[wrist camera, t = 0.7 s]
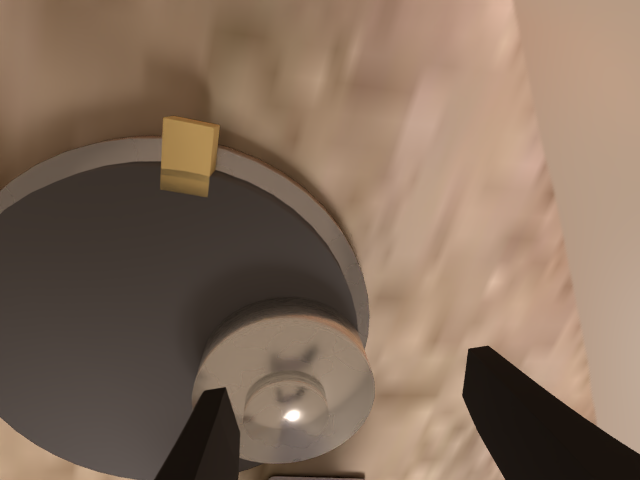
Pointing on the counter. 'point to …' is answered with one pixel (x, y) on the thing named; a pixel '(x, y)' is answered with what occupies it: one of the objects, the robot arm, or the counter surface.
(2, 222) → the turntable
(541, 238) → the counter surface
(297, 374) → the cover
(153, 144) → the base
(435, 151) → the counter surface
